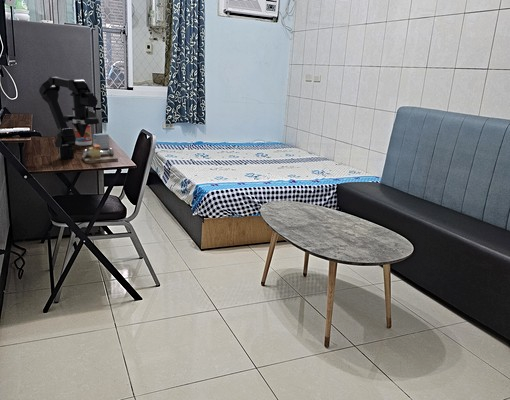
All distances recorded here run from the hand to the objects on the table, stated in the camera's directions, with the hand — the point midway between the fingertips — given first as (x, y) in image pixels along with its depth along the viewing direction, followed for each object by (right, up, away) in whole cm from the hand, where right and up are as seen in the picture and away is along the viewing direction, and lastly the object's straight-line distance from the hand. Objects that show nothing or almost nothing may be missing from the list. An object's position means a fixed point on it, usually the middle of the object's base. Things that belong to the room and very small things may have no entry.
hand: (82, 137), depth 223 cm
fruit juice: (-18, +2, +49) cm, 53 cm away
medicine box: (-4, -2, +39) cm, 39 cm away
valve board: (+5, -11, +10) cm, 15 cm away
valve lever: (+5, -5, +5) cm, 9 cm away
